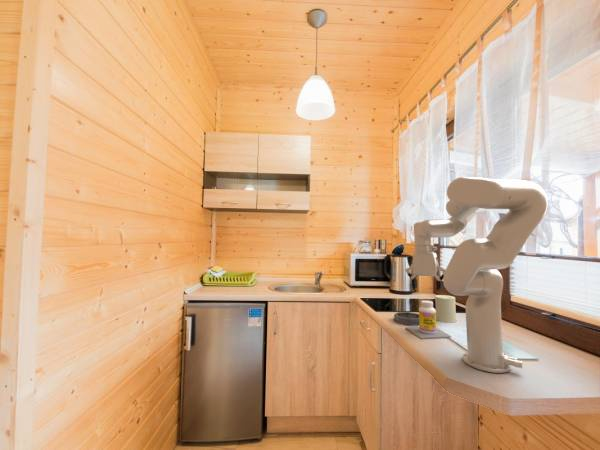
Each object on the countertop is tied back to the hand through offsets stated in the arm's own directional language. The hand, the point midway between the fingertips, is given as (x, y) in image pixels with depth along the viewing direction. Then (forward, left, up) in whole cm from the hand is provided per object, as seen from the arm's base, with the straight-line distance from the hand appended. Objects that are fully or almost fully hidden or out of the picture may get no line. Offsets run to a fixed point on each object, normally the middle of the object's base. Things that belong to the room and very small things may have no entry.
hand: (426, 289), depth 114 cm
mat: (+1, 0, -19) cm, 19 cm away
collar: (+13, -11, -19) cm, 25 cm away
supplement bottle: (0, 0, -18) cm, 18 cm away
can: (0, -26, -19) cm, 33 cm away
